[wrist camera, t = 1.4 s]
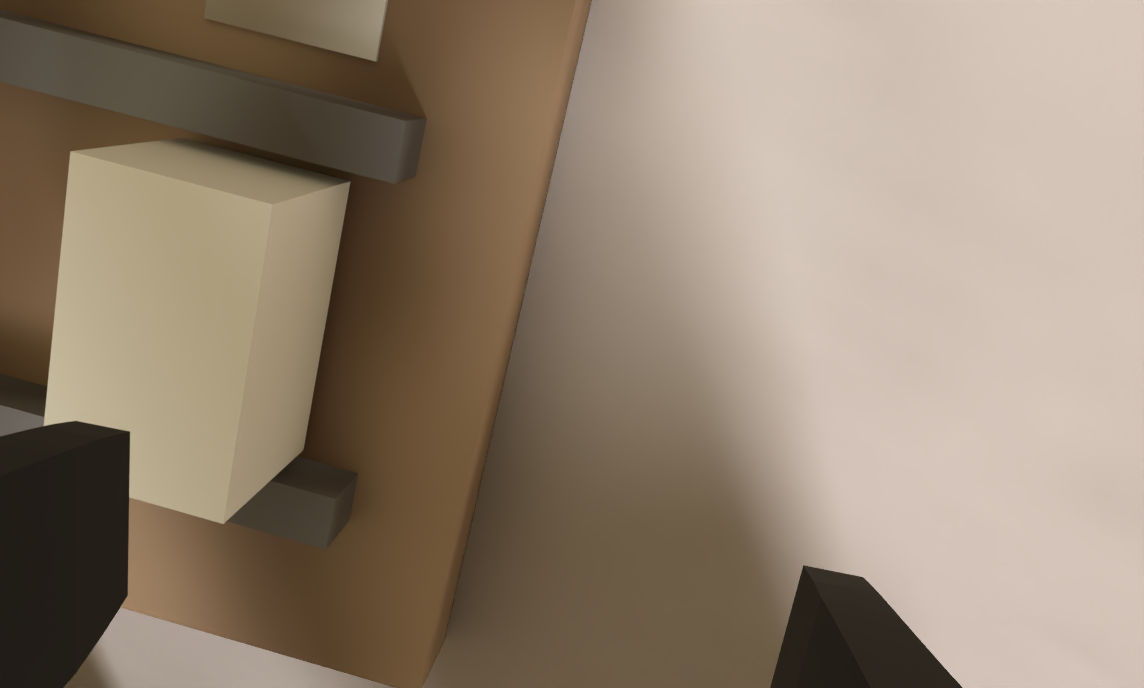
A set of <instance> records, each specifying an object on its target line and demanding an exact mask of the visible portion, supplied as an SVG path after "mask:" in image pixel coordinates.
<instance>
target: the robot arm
mask: <svg viewBox="0 0 1144 688" xmlns="http://www.w3.org/2000/svg"><path fill="white" fill-rule="evenodd" d="M129 473H130V431H125V430H120V429H115V428H110V427H105V426H100V425H94V424H89V423H84V422H79V421H71V422H64V423H57V424H52V425H46V426H42V427H37V428H33V429H28V430H24V431H20V432H16V433H12V434H8V435H4V436H0V688H63V687H64V686H65V685H66V684H67V682H68V681H69V680H70V679H71V678H72V677H73V676H74V674H75V673H76V672H77V670H78V669H79V668H80V666H81V665H82V663H83V662H84V661H85V659H86V658H87V656H88V655H89V653H90V652H91V651H92V649H93V648H94V646H95V645H96V643H97V642H98V641H99V639H100V638H101V636H102V635H103V633H104V632H105V630H106V628H107V627H108V625H109V624H110V622H111V621H112V619H113V618H114V616H115V615H116V613H117V612H118V610H119V608H120V607H121V605H122V604H123V602H124V601H125V599H126V598H127V596H128V543H129ZM770 688H962V687H961V686H960V684H959V683H958V682H957V681H956V680H955V679H954V678H953V677H952V676H951V675H950V674H949V672H948V671H947V670H946V669H945V668H944V667H943V666H942V665H941V663H940V662H939V661H938V660H937V659H936V658H935V657H934V656H933V654H932V653H931V652H930V651H929V650H928V649H927V648H926V647H925V645H924V644H923V643H922V642H921V641H920V640H919V639H918V637H917V636H916V635H915V634H914V633H913V632H912V630H911V629H910V628H909V627H908V626H907V625H906V624H905V622H904V621H903V620H902V619H901V618H900V617H899V616H898V614H897V613H896V612H895V611H894V610H893V609H892V608H891V606H890V605H889V604H888V603H887V602H886V601H885V600H884V599H883V597H882V596H881V595H880V594H879V593H878V592H877V591H876V590H875V589H874V588H873V587H872V586H871V585H870V584H869V583H868V582H867V581H866V580H865V579H864V578H863V577H859V576H854V575H849V574H844V573H839V572H834V571H829V570H824V569H819V568H813V567H808V566H803V569H802V573H801V576H800V580H799V584H798V588H797V591H796V595H795V599H794V602H793V606H792V610H791V613H790V617H789V621H788V625H787V628H786V632H785V636H784V639H783V643H782V647H781V650H780V654H779V658H778V662H777V665H776V669H775V673H774V676H773V680H772V684H771V687H770Z"/></svg>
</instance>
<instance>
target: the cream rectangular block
mask: <svg viewBox="0 0 1144 688" xmlns="http://www.w3.org/2000/svg"><path fill="white" fill-rule="evenodd" d="M349 187H350V181H348V180H344V179H340V178H336V177H332V176H329V175H325V174H321V173H317V172H313V171H309V170H305V169H302V168H298V167H294V166H290V165H286V164H282V163H279V162H275V161H271V160H267V159H263V158H259V157H255V156H252V155H248V154H244V153H240V152H236V151H232V150H229V149H225V148H221V147H217V146H213V145H209V144H206V143H202V142H198V141H194V140H190V139H186V138H175V139H167V140H159V141H151V142H143V143H134V144H126V145H118V146H110V147H102V148H94V149H85V150H77V151H70V160H69V170H68V181H67V191H66V201H65V212H64V222H63V232H62V242H61V253H60V263H59V273H58V284H57V294H56V304H55V314H54V325H53V335H52V345H51V356H50V366H49V376H48V386H47V397H46V407H45V417H44V426H46V425H52V424H57V423H64V422H71V421H79V422H84V423H89V424H94V425H100V426H105V427H110V428H115V429H120V430H125V431H130V473H129V497H130V498H133V499H137V500H140V501H144V502H148V503H151V504H155V505H158V506H162V507H165V508H169V509H172V510H176V511H179V512H183V513H186V514H190V515H193V516H197V517H200V518H204V519H207V520H211V521H214V522H218V523H221V524H224V523H225V522H226V521H227V520H228V519H229V518H230V517H231V516H233V515H234V514H235V513H236V512H237V511H238V510H239V509H240V508H241V507H242V506H243V505H244V504H246V503H247V502H248V501H249V500H250V499H251V498H252V497H253V496H254V495H255V494H256V493H257V492H259V491H260V490H261V489H262V488H263V487H264V486H265V485H266V484H267V483H268V482H269V481H270V480H272V479H273V478H274V477H275V476H276V475H277V474H278V473H279V472H280V471H281V470H282V469H283V468H285V467H286V466H287V465H288V464H289V463H290V462H291V461H292V460H293V459H294V458H295V457H296V456H298V455H299V454H300V453H301V452H302V451H303V450H304V444H305V438H306V433H307V427H308V421H309V415H310V410H311V404H312V398H313V393H314V387H315V381H316V376H317V370H318V364H319V358H320V353H321V347H322V341H323V336H324V330H325V324H326V318H327V313H328V307H329V301H330V296H331V290H332V284H333V278H334V273H335V267H336V261H337V256H338V250H339V244H340V239H341V233H342V227H343V221H344V216H345V210H346V204H347V199H348V193H349Z"/></svg>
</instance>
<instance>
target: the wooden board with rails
mask: <svg viewBox="0 0 1144 688" xmlns="http://www.w3.org/2000/svg"><path fill="white" fill-rule="evenodd" d="M590 5H591V0H0V436H4V435H8V434H12V433H16V432H20V431H24V430H28V429H33V428H37V427H42V426H44V417H45V407H46V397H47V386H48V376H49V366H50V356H51V345H52V335H53V325H54V314H55V304H56V294H57V284H58V273H59V263H60V253H61V242H62V232H63V222H64V212H65V201H66V191H67V181H68V170H69V160H70V151H77V150H85V149H94V148H102V147H110V146H118V145H126V144H134V143H143V142H151V141H159V140H167V139H175V138H186V139H190V140H194V141H198V142H202V143H206V144H209V145H213V146H217V147H221V148H225V149H229V150H232V151H236V152H240V153H244V154H248V155H252V156H255V157H259V158H263V159H267V160H271V161H275V162H279V163H282V164H286V165H290V166H294V167H298V168H302V169H305V170H309V171H313V172H317V173H321V174H325V175H329V176H332V177H336V178H340V179H344V180H348V181H350V187H349V193H348V199H347V204H346V210H345V216H344V221H343V227H342V233H341V239H340V244H339V250H338V256H337V261H336V267H335V273H334V278H333V284H332V290H331V296H330V301H329V307H328V313H327V318H326V324H325V330H324V336H323V341H322V347H321V353H320V358H319V364H318V370H317V376H316V381H315V387H314V393H313V398H312V404H311V410H310V415H309V421H308V427H307V433H306V438H305V444H304V450H303V451H302V452H301V453H300V454H299V455H298V456H296V457H295V458H294V459H293V460H292V461H291V462H290V463H289V464H288V465H287V466H286V467H285V468H283V469H282V470H281V471H280V472H279V473H278V474H277V475H276V476H275V477H274V478H273V479H272V480H270V481H269V482H268V483H267V484H266V485H265V486H264V487H263V488H262V489H261V490H260V491H259V492H257V493H256V494H255V495H254V496H253V497H252V498H251V499H250V500H249V501H248V502H247V503H246V504H244V505H243V506H242V507H241V508H240V509H239V510H238V511H237V512H236V513H235V514H234V515H233V516H231V517H230V518H229V519H228V520H227V521H226V522H225V523H224V524H221V523H218V522H214V521H211V520H207V519H204V518H200V517H197V516H193V515H190V514H186V513H183V512H179V511H176V510H172V509H169V508H165V507H162V506H158V505H155V504H151V503H148V502H144V501H140V500H137V499H133V498H130V497H129V543H128V596H127V598H126V599H125V601H124V602H123V604H122V605H121V607H122V608H125V609H128V610H132V611H135V612H139V613H142V614H146V615H149V616H152V617H156V618H159V619H163V620H166V621H170V622H173V623H176V624H180V625H183V626H187V627H190V628H194V629H197V630H200V631H204V632H207V633H211V634H214V635H218V636H221V637H224V638H228V639H231V640H235V641H238V642H242V643H245V644H248V645H252V646H255V647H259V648H262V649H265V650H269V651H272V652H276V653H279V654H283V655H286V656H289V657H293V658H296V659H300V660H303V661H307V662H310V663H313V664H317V665H320V666H324V667H327V668H331V669H334V670H337V671H341V672H344V673H348V674H351V675H355V676H358V677H361V678H365V679H368V680H372V681H375V682H379V683H382V684H385V685H389V686H392V687H396V688H422V686H423V684H424V682H425V680H426V678H427V676H428V673H429V671H430V669H431V667H432V665H433V663H434V661H435V659H436V657H437V654H438V652H439V650H440V648H441V646H442V644H443V642H444V639H445V635H446V630H447V626H448V622H449V617H450V613H451V609H452V604H453V600H454V596H455V591H456V587H457V583H458V578H459V574H460V570H461V565H462V561H463V557H464V552H465V548H466V544H467V539H468V535H469V531H470V526H471V522H472V517H473V513H474V509H475V504H476V500H477V496H478V491H479V487H480V483H481V478H482V474H483V470H484V465H485V461H486V457H487V452H488V448H489V444H490V439H491V435H492V431H493V426H494V422H495V418H496V413H497V409H498V405H499V400H500V396H501V391H502V387H503V383H504V378H505V374H506V370H507V365H508V361H509V357H510V352H511V348H512V344H513V339H514V335H515V331H516V326H517V322H518V318H519V313H520V309H521V305H522V300H523V296H524V292H525V287H526V283H527V279H528V274H529V270H530V265H531V261H532V257H533V252H534V248H535V244H536V239H537V235H538V231H539V226H540V222H541V218H542V213H543V209H544V205H545V200H546V196H547V192H548V187H549V183H550V179H551V174H552V170H553V166H554V161H555V157H556V153H557V148H558V144H559V139H560V135H561V131H562V126H563V122H564V118H565V113H566V109H567V105H568V100H569V96H570V92H571V87H572V83H573V79H574V74H575V70H576V66H577V61H578V57H579V53H580V48H581V44H582V40H583V35H584V31H585V26H586V22H587V18H588V13H589V9H590Z"/></svg>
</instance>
